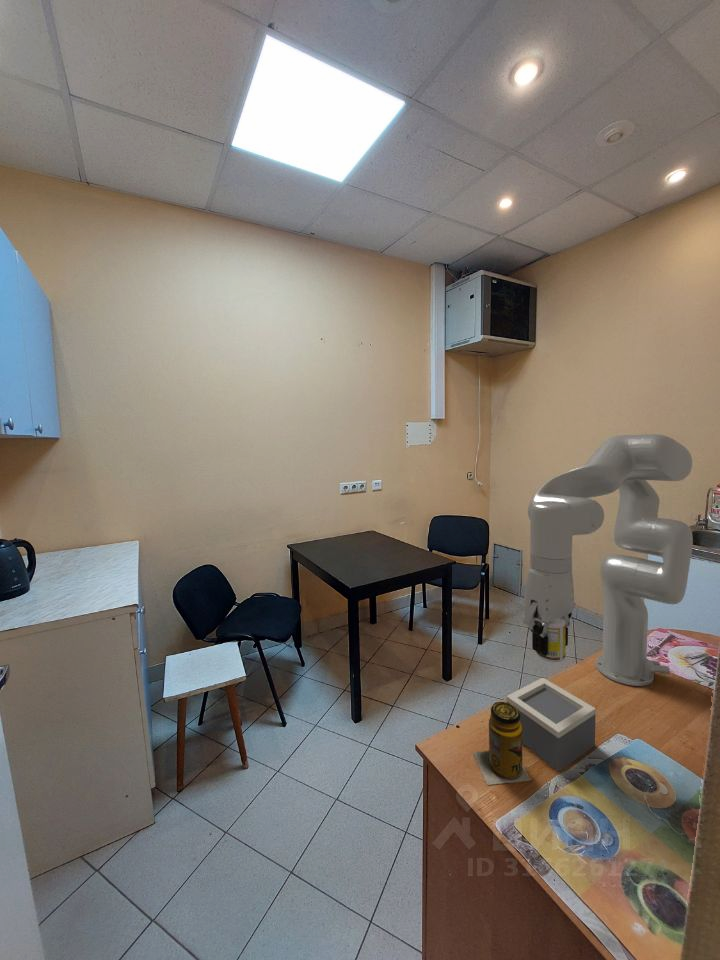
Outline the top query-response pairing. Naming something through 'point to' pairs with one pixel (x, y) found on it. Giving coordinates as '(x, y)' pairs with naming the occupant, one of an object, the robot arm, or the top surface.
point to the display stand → (554, 722)
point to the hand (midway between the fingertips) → (550, 646)
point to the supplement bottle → (555, 640)
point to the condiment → (503, 747)
